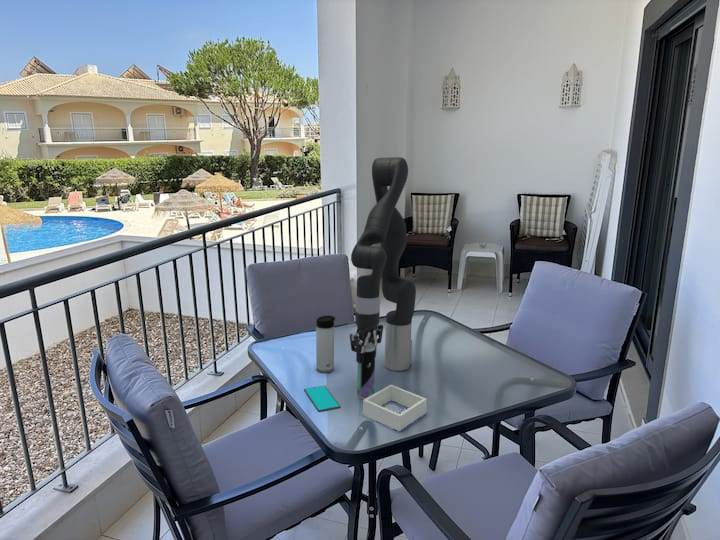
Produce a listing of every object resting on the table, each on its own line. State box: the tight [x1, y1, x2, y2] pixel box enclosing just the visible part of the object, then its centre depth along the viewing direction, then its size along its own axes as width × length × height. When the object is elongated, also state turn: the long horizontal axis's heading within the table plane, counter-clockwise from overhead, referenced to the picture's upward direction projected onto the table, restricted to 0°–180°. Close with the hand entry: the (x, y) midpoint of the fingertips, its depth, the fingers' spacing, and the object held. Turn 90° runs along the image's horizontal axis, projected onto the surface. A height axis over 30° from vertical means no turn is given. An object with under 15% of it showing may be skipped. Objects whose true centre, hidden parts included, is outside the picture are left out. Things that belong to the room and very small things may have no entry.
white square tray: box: [362, 384, 428, 430], centre depth 152 cm, size 14×14×5 cm
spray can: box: [356, 340, 376, 401], centre depth 161 cm, size 6×6×20 cm
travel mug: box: [315, 315, 336, 374], centre depth 179 cm, size 6×7×20 cm
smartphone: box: [303, 385, 341, 413], centre depth 161 cm, size 7×1×15 cm
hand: (366, 359), depth 160 cm, fingers closed on spray can, 5 cm apart
